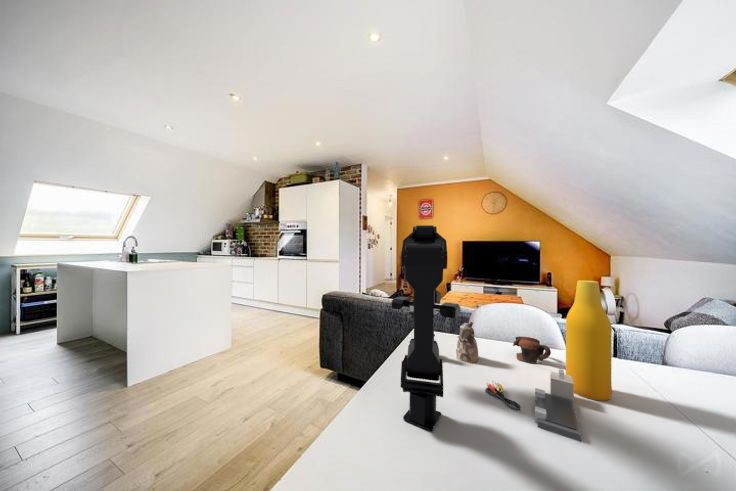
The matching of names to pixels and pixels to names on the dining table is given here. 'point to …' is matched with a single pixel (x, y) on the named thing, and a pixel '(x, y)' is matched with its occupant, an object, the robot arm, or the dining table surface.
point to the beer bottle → (589, 343)
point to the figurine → (467, 344)
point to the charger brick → (561, 385)
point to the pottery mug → (531, 349)
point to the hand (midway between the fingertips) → (424, 336)
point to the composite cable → (500, 395)
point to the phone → (556, 415)
